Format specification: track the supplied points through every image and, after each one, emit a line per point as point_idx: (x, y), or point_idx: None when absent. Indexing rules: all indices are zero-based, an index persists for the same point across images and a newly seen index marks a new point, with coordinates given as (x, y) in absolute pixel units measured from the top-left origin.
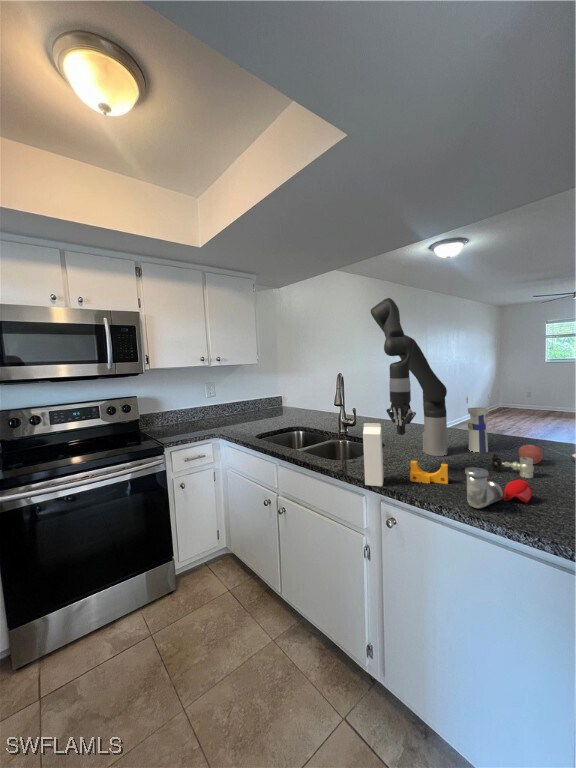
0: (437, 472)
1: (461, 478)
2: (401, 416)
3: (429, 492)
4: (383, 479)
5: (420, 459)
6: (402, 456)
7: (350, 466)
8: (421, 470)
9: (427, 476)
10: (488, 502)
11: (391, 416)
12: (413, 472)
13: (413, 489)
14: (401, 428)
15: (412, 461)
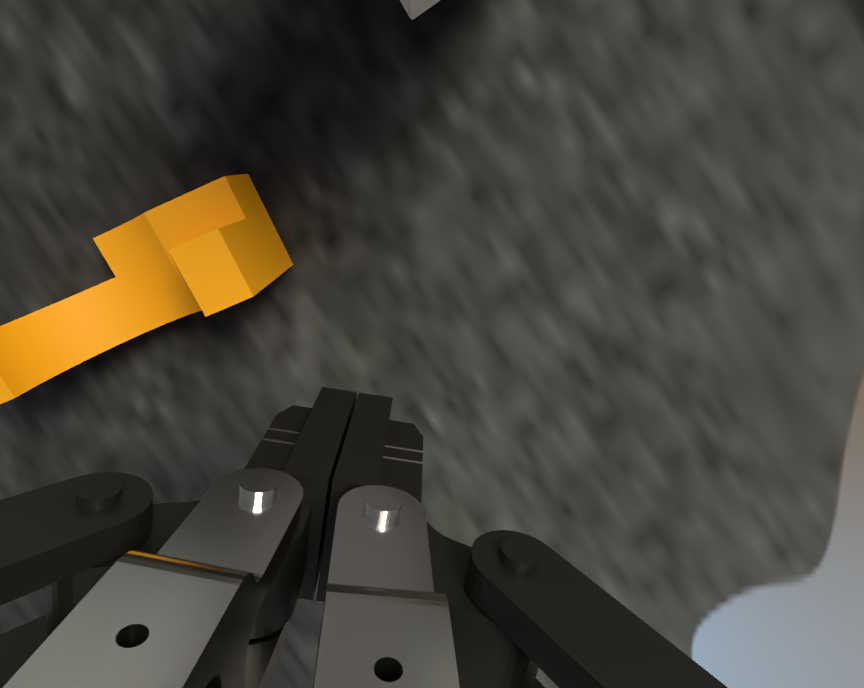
0: (66, 327)
1: (51, 465)
2: (46, 662)
3: (7, 67)
4: (407, 12)
5: None
6: None
7: (851, 97)
8: (190, 291)
9: (116, 246)
10: None
11: (628, 684)
12: (210, 206)
13: (119, 28)
14: (285, 460)
15: (225, 271)
